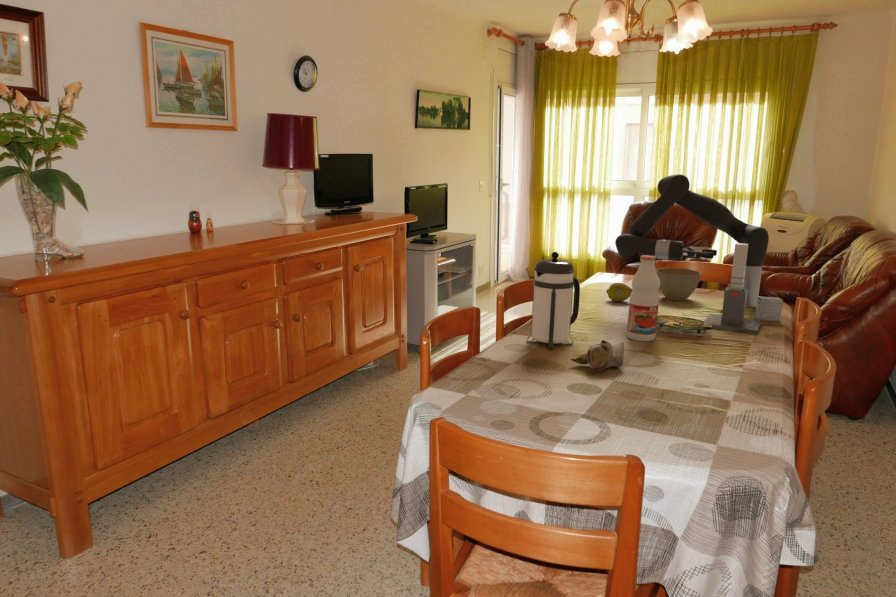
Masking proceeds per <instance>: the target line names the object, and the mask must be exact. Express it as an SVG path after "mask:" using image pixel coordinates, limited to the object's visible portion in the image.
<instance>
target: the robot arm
mask: <svg viewBox="0 0 896 597" xmlns="http://www.w3.org/2000/svg"><path fill="white" fill-rule="evenodd" d="M657 191H658V193H659V197H658V198H657V199H656V200H654V202H653V203H652V204H650V205H649V206H648V207H647V208H646V209H645V210H643V211H642V212H641V213H640V214H639V215H638V216H637V217H636V219H635V220H634V221H633V223H631V225H630V227H629V233H622V234H620V235H619V236H617V237H616V239H615V240H614V241H615V244H614V245H615V248H616V250H617V253H618V254H617V255H619V256H620V257H621V258H623V259H629V258H630V259H631V257H633V256H634V255H635V254H637V253H638V254H640V256H642V255H650V256H655V257H656V259H658V260H666V261H675V262H681V261H682V260H683V258H684V259H685V258H686V259H697V260H698V259H700V260H701V259H710V260H713V259H714V257H716V256H717V254H718V250H717V249H712V248H711V249H710V248H709V249H708V248H706V247H702V246H701V247H700V246H692V245H691V246H687V247H685V242H684V241H682V240H672V239H654V238H653V239H652V238H651V239H650V238H645V237H646V236H647V235H648V234H649V233H650V231H651V230H652V229H653V228H654V227H655V225H656V224H657V223H658V222H659V221H660V219H661V218H663V217H664V215H665V214H666V213H667V212H668V211H669V210H670V209H671V208H672V207H673V206H674V205H675V204H676V205H678V206H680V207H682V208H683V209H684V210H687V211H688V212H689V213H691V214H692V215H694V216H696V217H697V218H699V219H700V220H702V221H703V222H705V223H707V224H708V225H710V226H711V227H714V228H715V229H717V230H719V231H722V232H724V233H725V234H727V235H728V236H730V238H732V239H733V240H734V241H735V242H736V243H743V244H748V252H747V260H746V268H745V277H744V284H743V286H744V288H743V289H748V291H747V299H746V307H745V308H756V305H757V298H758V297H759V294H760V285H761V277H762V270H763V264H764V261H765V259H766V258H767V251H768V247H769V239H770V237H769V233H768V230H767V229H766V228H764V227H762V226H756V225H752V224H749V223H746V222H745V221H742V220H740V219H738V218H737V217H736V216H734V214H733V213H732V211H731V210H730V209H729V207H727V205H724V204H723V203H721V202H719V201H718V200H716V199H714V198H712V197H710V196H707V195H705V194H704V195H703V194H700V193H696V192H694V191H691V190H690V180H689V178H688V177H687V176H686V175H684V174H680V173H678V174H677V173H676V174H672V175H667V176H664V177H663V178H661V179H660V180H659V181H658V183H657Z"/></svg>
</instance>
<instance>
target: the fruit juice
mask: <svg viewBox="0 0 896 597" xmlns="http://www.w3.org/2000/svg"><path fill="white" fill-rule="evenodd" d="M639 259H640V261H639V262H640V264H639V267H638V268H637V271H636V273H635V274H634V276H633V277H632V280H631V289H632V293H631V295H630V297H629V302H628V304H629V306H628V314H627V325H626V326H627V327H626V336H627V339H630V340H633V341H638V342H652V341H654V340H655V338H656V335H657V327H658V326H657V325H658V324H657V323H658V315H659V305H660V296H659V290H660V279H659V277H658V275H657V269H656V266H655V263H656V260H657V258H656V257H655V256H650V255H640V258H639Z"/></svg>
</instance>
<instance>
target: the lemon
mask: <svg viewBox="0 0 896 597" xmlns="http://www.w3.org/2000/svg"><path fill="white" fill-rule="evenodd" d="M605 291H606V292H605V293H607V294H606V295H607V297H608V298H609V300H611V301H613V302H618V303H620V302H623V301H626V300H628V299H630V295H631V293H632V287H630V286H629V285H627V284H626V283H621V282H615V283H614V282H613V283H612V284H610V285H609V288H607V289H606V290H605Z"/></svg>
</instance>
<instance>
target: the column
mask: <svg viewBox="0 0 896 597" xmlns="http://www.w3.org/2000/svg"><path fill="white" fill-rule="evenodd" d="M747 252H748V244H743V243H738V242H736V243H735V244H734V252H733V260H732V269H731V276H730V286H729V287H730V288H729V290H733V291H742V292H743V288H744V286H743V284H744V277H745V268H746V260H747Z"/></svg>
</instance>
